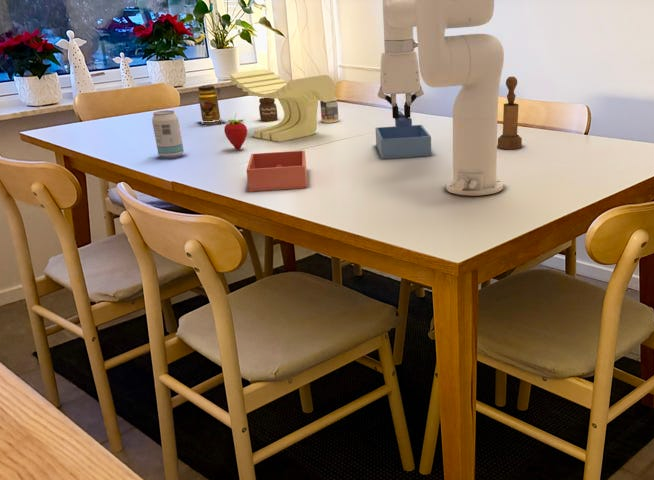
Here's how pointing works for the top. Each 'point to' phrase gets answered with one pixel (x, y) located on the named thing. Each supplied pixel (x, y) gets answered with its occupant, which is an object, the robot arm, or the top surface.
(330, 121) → the pill bottle
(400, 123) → the spoon blue
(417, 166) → the top surface
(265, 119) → the dark brown jar
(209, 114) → the condiment
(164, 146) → the beverage can
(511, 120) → the brown tall knobbed column
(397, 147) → the bin blue
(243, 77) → the slatted curved stool
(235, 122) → the strawberry
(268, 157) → the bin terracotta
